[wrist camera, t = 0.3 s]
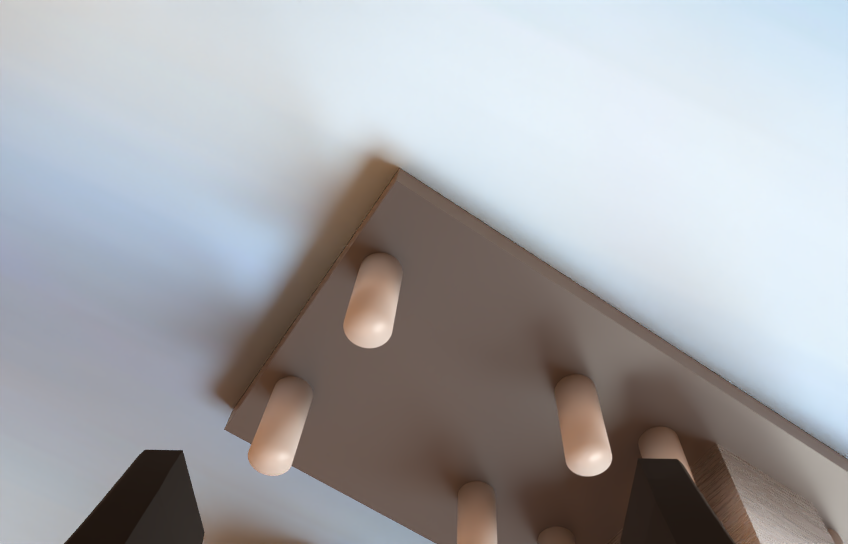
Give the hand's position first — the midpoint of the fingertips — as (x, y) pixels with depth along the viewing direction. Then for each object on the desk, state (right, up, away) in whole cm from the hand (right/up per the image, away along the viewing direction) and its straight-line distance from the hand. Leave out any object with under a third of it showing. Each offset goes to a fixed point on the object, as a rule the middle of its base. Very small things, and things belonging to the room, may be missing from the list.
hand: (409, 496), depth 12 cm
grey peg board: (+5, -2, +13) cm, 14 cm away
